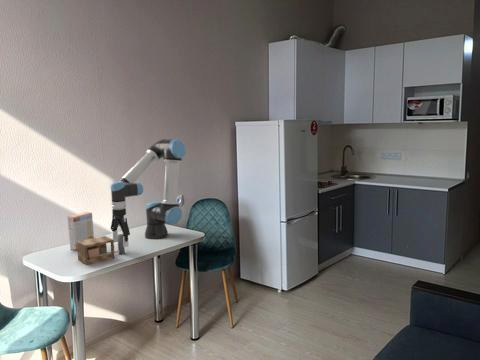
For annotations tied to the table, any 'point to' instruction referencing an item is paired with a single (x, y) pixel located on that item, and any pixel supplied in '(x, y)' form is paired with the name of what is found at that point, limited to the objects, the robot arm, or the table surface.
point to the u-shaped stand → (94, 252)
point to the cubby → (97, 242)
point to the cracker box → (80, 228)
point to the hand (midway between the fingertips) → (120, 244)
